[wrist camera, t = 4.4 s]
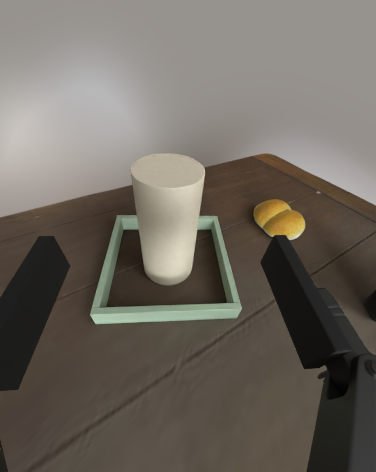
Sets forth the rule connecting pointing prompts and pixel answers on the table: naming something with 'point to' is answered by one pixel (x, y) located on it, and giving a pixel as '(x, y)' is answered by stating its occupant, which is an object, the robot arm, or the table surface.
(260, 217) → the bread roll
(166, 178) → the pillar candle
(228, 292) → the green square frame
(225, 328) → the table surface
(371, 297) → the ceramic cat
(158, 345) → the table surface
